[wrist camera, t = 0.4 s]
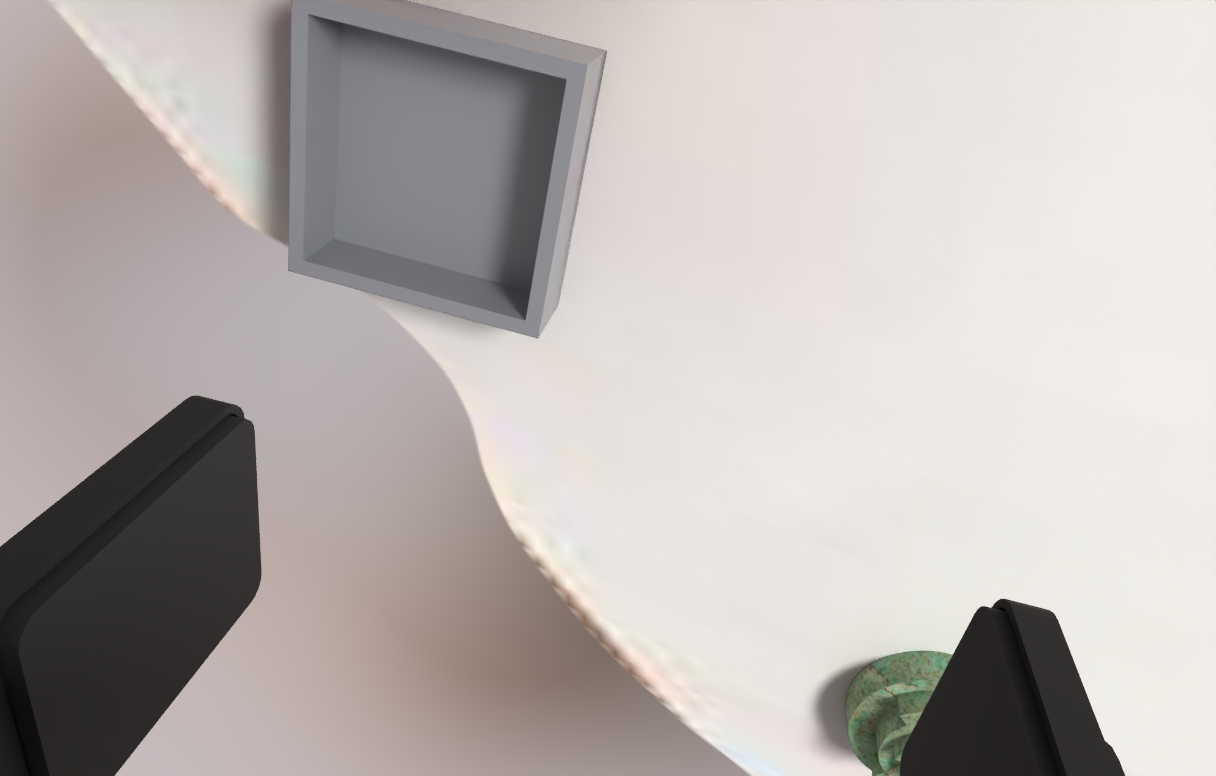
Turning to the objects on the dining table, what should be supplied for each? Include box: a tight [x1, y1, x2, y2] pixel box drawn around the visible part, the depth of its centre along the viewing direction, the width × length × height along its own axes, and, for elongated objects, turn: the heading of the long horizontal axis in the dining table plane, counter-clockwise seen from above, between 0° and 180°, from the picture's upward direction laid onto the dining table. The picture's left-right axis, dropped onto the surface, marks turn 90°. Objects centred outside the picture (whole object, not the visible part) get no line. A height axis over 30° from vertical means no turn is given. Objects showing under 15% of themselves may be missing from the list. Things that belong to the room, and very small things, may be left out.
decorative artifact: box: [846, 651, 953, 776], centre depth 54 cm, size 10×7×10 cm
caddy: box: [288, 0, 607, 338], centre depth 43 cm, size 14×14×4 cm
